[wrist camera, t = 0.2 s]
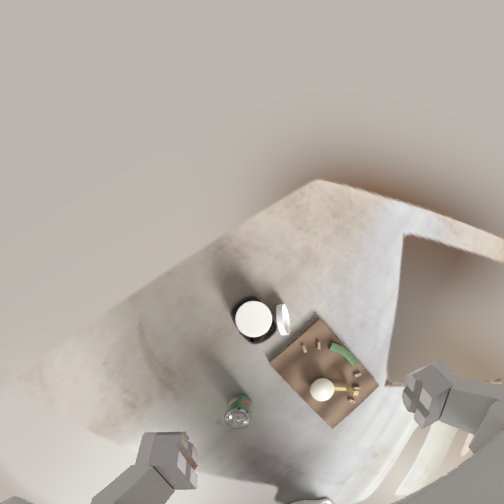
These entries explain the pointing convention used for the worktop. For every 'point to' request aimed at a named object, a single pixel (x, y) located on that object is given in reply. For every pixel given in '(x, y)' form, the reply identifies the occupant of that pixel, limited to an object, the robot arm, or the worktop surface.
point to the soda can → (238, 412)
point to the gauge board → (324, 372)
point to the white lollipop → (327, 389)
